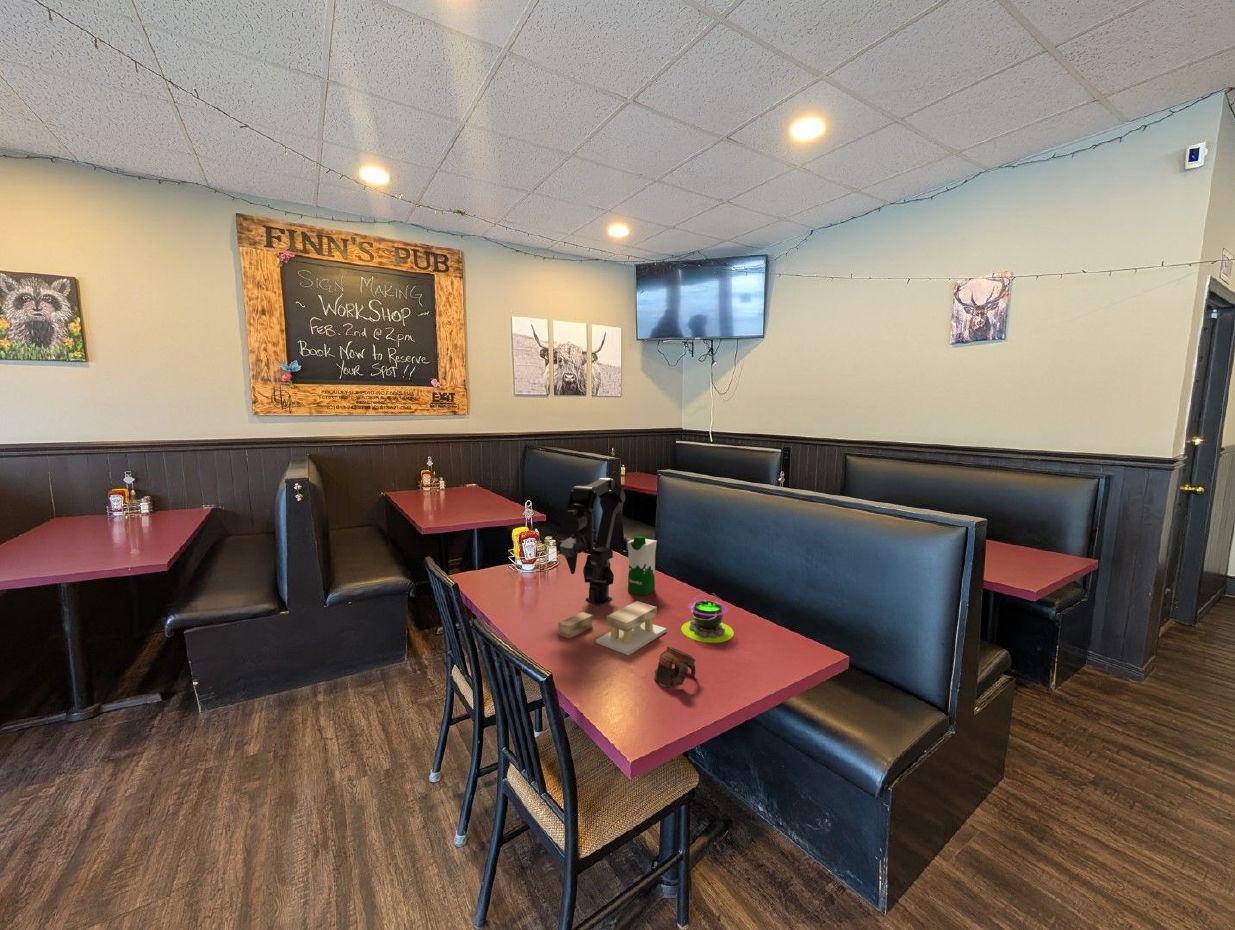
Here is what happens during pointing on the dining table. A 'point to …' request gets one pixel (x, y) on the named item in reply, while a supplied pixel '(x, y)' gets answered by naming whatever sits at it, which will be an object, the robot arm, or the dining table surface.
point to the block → (575, 625)
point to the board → (631, 616)
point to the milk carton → (641, 565)
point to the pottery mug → (677, 674)
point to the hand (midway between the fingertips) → (583, 576)
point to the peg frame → (631, 637)
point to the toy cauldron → (707, 622)
